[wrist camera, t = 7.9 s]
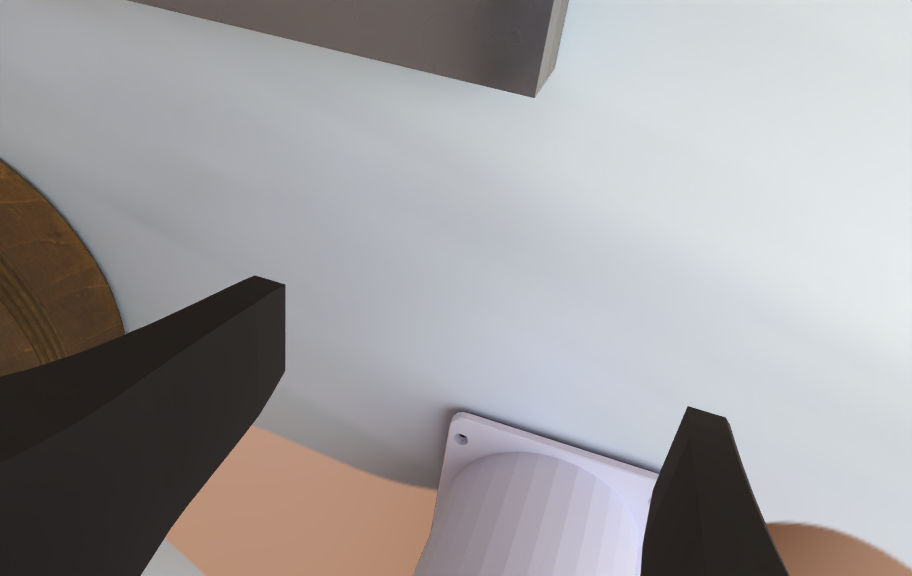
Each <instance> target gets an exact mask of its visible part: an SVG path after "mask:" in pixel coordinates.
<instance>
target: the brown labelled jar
mask: <svg viewBox="0 0 912 576" xmlns="http://www.w3.org/2000/svg"><path fill="white" fill-rule="evenodd" d="M123 335H125V334H124V329H123V325H122V321H121V318H120V315H119V312H118V309H117V306H116V303H115V300H114V297H113V295H112V292H111V290H110V288H109V285H108V283H107V281H106V279H105V277H104V276H103V274H102V272H101V270H100V269H99V267H98V265H97V264H96V262H95V260H94V259H93V257H92V256H91V255H90V253H89V252H88V250H87V249H86V247H85V246H84V244H83V243H82V242H81V240H80V239H79V238H78V236H77V235H76V234H75V232H74V231H73V230H72V228H71V227H70V226H69V225H68V224H67V222H66V221H65V220H64V219H63V218H62V217H61V215H60V214H59V213H58V212H57V211H56V210H55V209H54V208H53V207H52V206H51V205H50V204H49V202H48V201H47V200H46V199H45V198H44V197H43V196H42V195H41V194H40V193H39V192H38V191H37V190H35V189H34V188H33V187H32V186H31V185H30V184H29V183H28V182H26V181H25V180H24V179H23V178H22V177H21V176H20V175H18V174H17V173H16V172H15V171H13V170H12V169H11V168H9V167H8V166H7V165H5V164H4V163H3V162H1V161H0V377H1V376H5V375H9V374H13V373H16V372H20V371H24V370H27V369H31V368H34V367H37V366H41V365H44V364H47V363H50V362H53V361H56V360H59V359H62V358H65V357H68V356H71V355H74V354H77V353H80V352H82V351H85V350H88V349H91V348H93V347H96V346H99V345H101V344H103V343H106V342H108V341H111V340H113V339H115V338H118V337H120V336H123Z"/></svg>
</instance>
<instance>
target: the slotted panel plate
mask: <svg viewBox="0 0 912 576" xmlns="http://www.w3.org/2000/svg"><path fill="white" fill-rule="evenodd" d="M129 1H133V2H137V3H141V4H145V5H149V6H154V7H158V8H162V9H166V10H170V11H174V12H179V13H183V14H187V15H191V16H195V17H199V18H204V19H208V20H212V21H216V22H220V23H224V24H229V25H233V26H237V27H241V28H245V29H249V30H254V31H258V32H262V33H266V34H270V35H274V36H279V37H283V38H287V39H291V40H295V41H299V42H304V43H308V44H312V45H316V46H320V47H324V48H328V49H333V50H337V51H341V52H345V53H349V54H353V55H358V56H362V57H366V58H370V59H374V60H378V61H383V62H387V63H391V64H395V65H399V66H403V67H408V68H412V69H416V70H420V71H424V72H428V73H433V74H437V75H441V76H445V77H449V78H453V79H458V80H462V81H466V82H470V83H474V84H478V85H483V86H487V87H491V88H495V89H499V90H503V91H507V92H512V93H516V94H520V95H524V96H528V97H532V98H535V97H536V95H537V94H538V92H539V91H540V89H541V88H542V86H543V85H544V83H545V82H546V80H547V79H548V77H549V76H550V74H551V73H552V72H553V70H554V69H555V64H556V59H557V54H558V50H559V45H560V40H561V35H562V30H563V26H564V21H565V16H566V11H567V6H568V2H569V0H129Z"/></svg>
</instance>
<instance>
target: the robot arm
mask: <svg viewBox="0 0 912 576" xmlns="http://www.w3.org/2000/svg"><path fill="white" fill-rule="evenodd" d="M284 372H285V284H281V283H278V282H275V281H272V280H268V279H265V278H262V277H258V276H252V277H250V278H248V279H245V280H243V281H241V282H239V283H237V284H234V285H232V286H230V287H228V288H226V289H224V290H222V291H220V292H218V293H215V294H213V295H211V296H209V297H207V298H205V299H203V300H201V301H199V302H197V303H195V304H193V305H190V306H188V307H186V308H184V309H182V310H180V311H177V312H175V313H173V314H171V315H169V316H167V317H165V318H162V319H160V320H158V321H156V322H154V323H151V324H149V325H147V326H144V327H142V328H139V329H137V330H135V331H132V332H130V333H127V334H125V335H123V336H120V337H118V338H115V339H113V340H111V341H108V342H106V343H103V344H101V345H99V346H96V347H93V348H91V349H88V350H85V351H82V352H80V353H77V354H74V355H71V356H68V357H65V358H62V359H59V360H56V361H53V362H50V363H47V364H44V365H41V366H37V367H34V368H31V369H27V370H24V371H20V372H16V373H13V374H9V375H5V376H1V377H0V576H141V574H142V572H143V571H144V569H145V568H146V566H147V565H148V563H149V561H150V560H151V558H152V557H153V555H154V554H155V552H156V551H157V549H158V547H159V546H160V544H161V543H162V541H163V540H164V538H165V536H166V535H167V533H168V532H169V530H170V529H171V527H172V526H173V525H174V523H175V522H176V521H177V519H178V518H179V516H180V515H181V514H182V512H183V511H184V510H185V508H186V507H187V506H188V504H189V503H190V502H191V501H192V499H193V498H194V497H195V496H196V494H197V493H198V492H199V490H200V489H201V488H202V487H203V486H204V484H205V483H206V482H207V481H208V479H209V478H210V477H211V476H212V474H213V473H214V472H215V471H216V469H217V468H218V467H219V466H220V464H221V463H222V462H223V461H224V459H225V458H226V457H227V456H228V454H229V453H230V452H231V451H232V449H233V448H234V447H235V445H236V444H237V443H238V442H239V440H240V439H241V438H242V437H243V435H244V434H245V433H246V432H247V430H248V429H249V428H250V426H251V425H252V424H253V422H254V421H255V420H256V419H257V417H258V416H259V414H260V413H261V411H262V409H263V408H264V406H265V405H266V403H267V401H268V400H269V398H270V396H271V395H272V393H273V391H274V389H275V388H276V386H277V384H278V382H279V381H280V379H281V377H282V375H283V374H284ZM459 434H462V435H464V436H466V437H462V436H460V435H459ZM413 576H789V574H788V571H787V569H786V567H785V565H784V563H783V561H782V559H781V557H780V556H779V553H778V551H777V548H776V546H775V544H774V542H773V540H772V537H771V535H770V533H769V530H768V528H767V526H766V523H765V521H764V519H763V516H762V514H761V511H760V509H759V507H758V504H757V502H756V499H755V497H754V494H753V492H752V489H751V486H750V484H749V481H748V478H747V475H746V473H745V470H744V467H743V464H742V461H741V458H740V456H739V453H738V449H737V446H736V443H735V440H734V437H733V434H732V430H731V427H730V424H729V423H728V421H727V419H726V418H725V417H722V416H719V415H715V414H712V413H709V412H705V411H702V410H699V409H695V408H692V407H689V406H688V407H687V409H686V412H685V414H684V416H683V419H682V421H681V424H680V426H679V428H678V431H677V433H676V436H675V438H674V440H673V443H672V445H671V447H670V450H669V452H668V455H667V457H666V459H665V462H664V464H663V467H662V469H661V471H660V474H657V473H654V472H651V471H648V470H645V469H641V468H638V467H635V466H632V465H629V464H626V463H623V462H619V461H616V460H613V459H610V458H607V457H604V456H601V455H598V454H594V453H591V452H588V451H585V450H582V449H579V448H576V447H573V446H569V445H566V444H563V443H560V442H557V441H554V440H551V439H548V438H544V437H541V436H538V435H535V434H532V433H529V432H526V431H522V430H519V429H516V428H513V427H510V426H507V425H504V424H501V423H497V422H494V421H491V420H488V419H485V418H482V417H479V416H476V415H472V414H469V413H465V412H459V413H456V414H455V415H454V416H453V418H452V420H451V422H450V425H449V431H448V437H447V442H446V448H445V454H444V459H443V465H442V471H441V476H440V482H439V488H438V493H437V499H436V505H435V511H434V517H433V522H432V528H431V533H430V536H429V538H428V540H427V543H426V545H425V547H424V550H423V552H422V555H421V557H420V559H419V562H418V564H417V567H416V569H415V571H414V574H413Z"/></svg>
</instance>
